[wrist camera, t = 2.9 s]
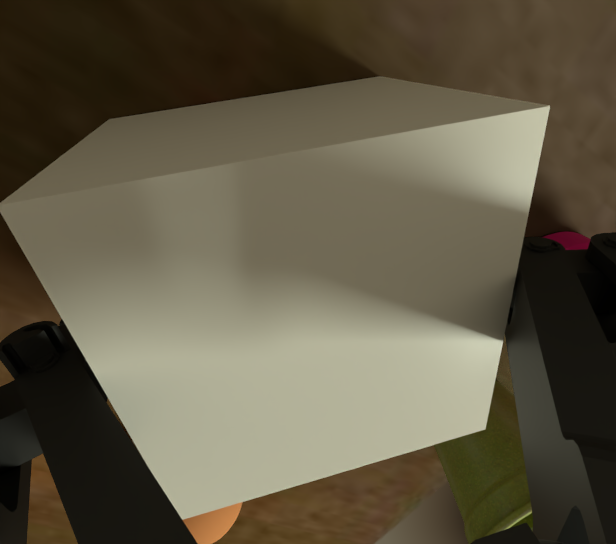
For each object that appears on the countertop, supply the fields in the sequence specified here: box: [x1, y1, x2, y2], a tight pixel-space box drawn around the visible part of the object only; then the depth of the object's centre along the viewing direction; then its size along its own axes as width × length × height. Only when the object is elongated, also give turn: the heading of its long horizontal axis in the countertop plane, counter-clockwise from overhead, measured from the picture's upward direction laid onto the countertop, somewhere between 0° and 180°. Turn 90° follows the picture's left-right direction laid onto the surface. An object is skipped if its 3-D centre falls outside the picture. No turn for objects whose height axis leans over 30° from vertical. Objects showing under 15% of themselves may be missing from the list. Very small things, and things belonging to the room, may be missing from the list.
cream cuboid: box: [0, 76, 550, 520], centre depth 13 cm, size 10×10×9 cm
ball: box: [183, 502, 242, 544], centre depth 21 cm, size 5×5×5 cm
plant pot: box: [434, 380, 533, 544], centre depth 24 cm, size 9×9×9 cm
